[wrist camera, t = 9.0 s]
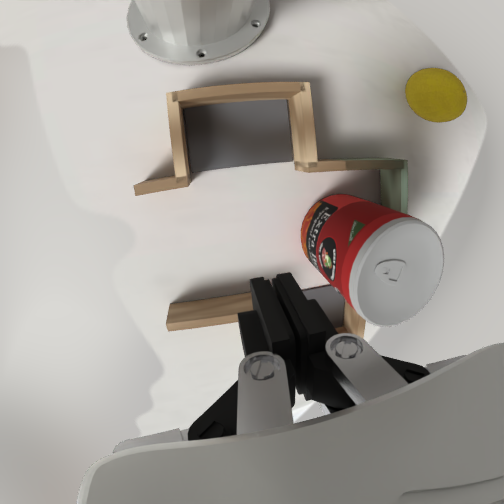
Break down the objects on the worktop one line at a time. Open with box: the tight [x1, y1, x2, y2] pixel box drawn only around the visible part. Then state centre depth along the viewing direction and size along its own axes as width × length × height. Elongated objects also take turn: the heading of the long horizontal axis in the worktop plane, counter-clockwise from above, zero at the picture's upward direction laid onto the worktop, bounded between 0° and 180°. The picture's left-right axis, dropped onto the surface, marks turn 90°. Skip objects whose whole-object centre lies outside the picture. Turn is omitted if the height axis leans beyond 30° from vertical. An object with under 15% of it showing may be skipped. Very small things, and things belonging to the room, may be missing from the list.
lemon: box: [405, 68, 467, 122], centre depth 19 cm, size 6×6×8 cm
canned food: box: [301, 194, 444, 327], centre depth 21 cm, size 8×8×11 cm
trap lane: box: [134, 82, 408, 338], centre depth 24 cm, size 25×23×4 cm
